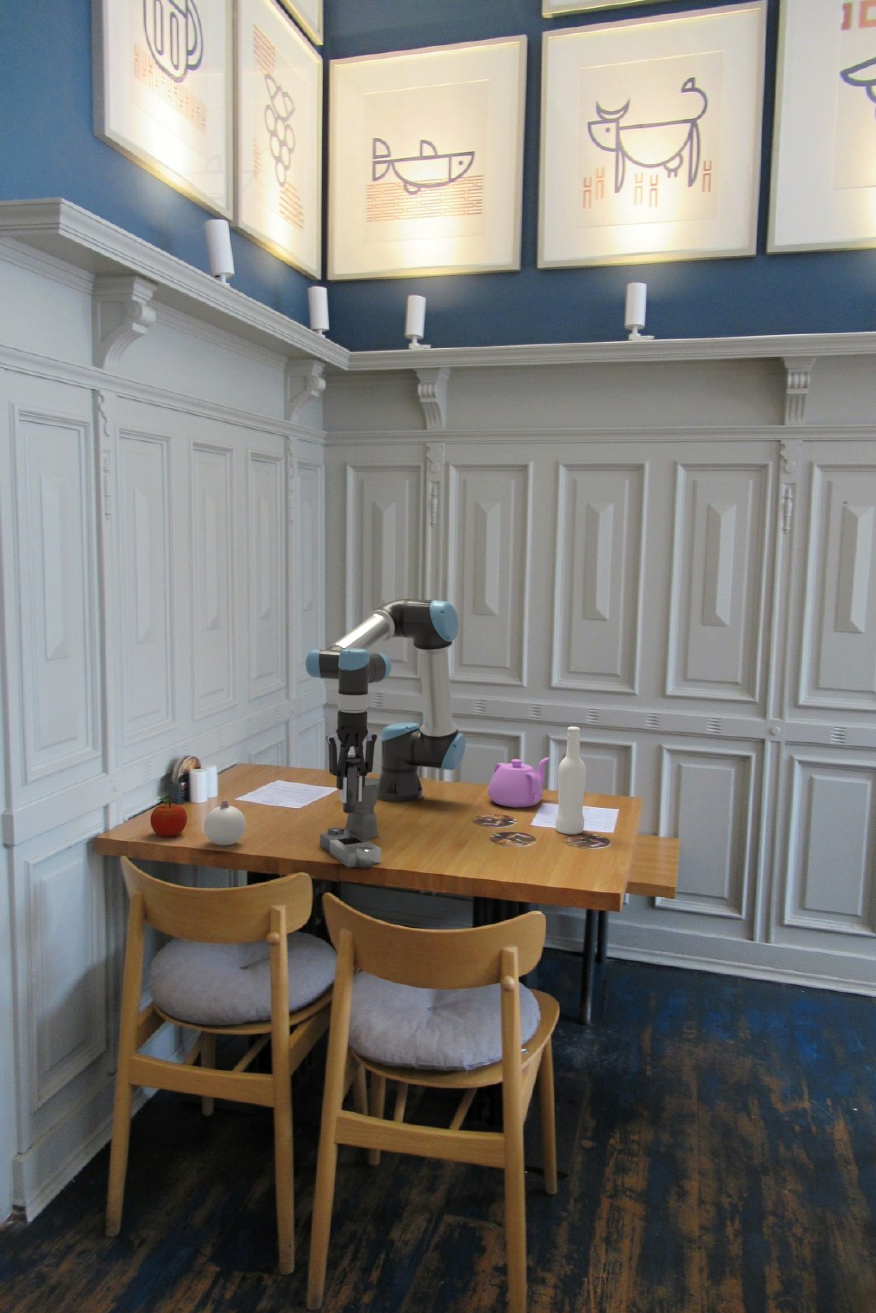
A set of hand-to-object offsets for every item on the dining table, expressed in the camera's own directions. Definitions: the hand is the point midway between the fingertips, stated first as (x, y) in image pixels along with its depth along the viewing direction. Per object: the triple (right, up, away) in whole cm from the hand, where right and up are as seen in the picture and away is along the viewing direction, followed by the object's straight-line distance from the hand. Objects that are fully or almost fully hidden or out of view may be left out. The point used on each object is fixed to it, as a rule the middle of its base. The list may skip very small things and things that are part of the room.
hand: (350, 800), depth 242 cm
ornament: (-34, -13, +7) cm, 36 cm away
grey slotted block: (0, -14, +2) cm, 14 cm away
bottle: (+60, -13, +28) cm, 67 cm away
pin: (0, -3, 0) cm, 3 cm away
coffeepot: (+1, -13, +18) cm, 22 cm away
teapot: (+48, -9, +58) cm, 76 cm away
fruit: (-50, -11, +14) cm, 53 cm away
